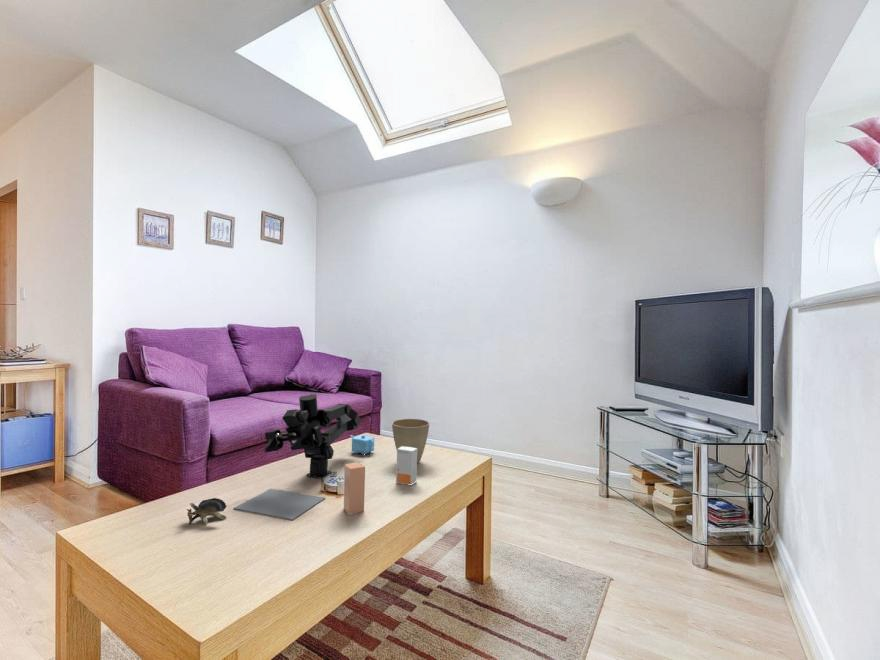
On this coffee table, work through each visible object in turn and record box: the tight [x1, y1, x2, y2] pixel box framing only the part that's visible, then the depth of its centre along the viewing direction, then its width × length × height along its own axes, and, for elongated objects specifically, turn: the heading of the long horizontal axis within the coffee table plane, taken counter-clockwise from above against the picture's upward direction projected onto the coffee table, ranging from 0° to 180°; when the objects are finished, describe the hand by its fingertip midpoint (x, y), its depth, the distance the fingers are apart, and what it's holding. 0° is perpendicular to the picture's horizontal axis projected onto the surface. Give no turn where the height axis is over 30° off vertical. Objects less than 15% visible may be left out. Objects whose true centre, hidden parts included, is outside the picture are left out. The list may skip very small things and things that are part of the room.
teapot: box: [349, 434, 375, 456], centre depth 183 cm, size 12×6×8 cm, turn 64°
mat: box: [233, 488, 326, 521], centre depth 129 cm, size 16×20×1 cm
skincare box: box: [395, 446, 418, 485], centre depth 149 cm, size 6×4×12 cm
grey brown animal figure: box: [185, 497, 228, 526], centre depth 116 cm, size 8×7×9 cm
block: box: [343, 462, 366, 515], centre depth 126 cm, size 4×4×13 cm
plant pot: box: [391, 418, 430, 463], centre depth 171 cm, size 15×15×16 cm
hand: (278, 449), depth 130 cm, fingers open, 9 cm apart
